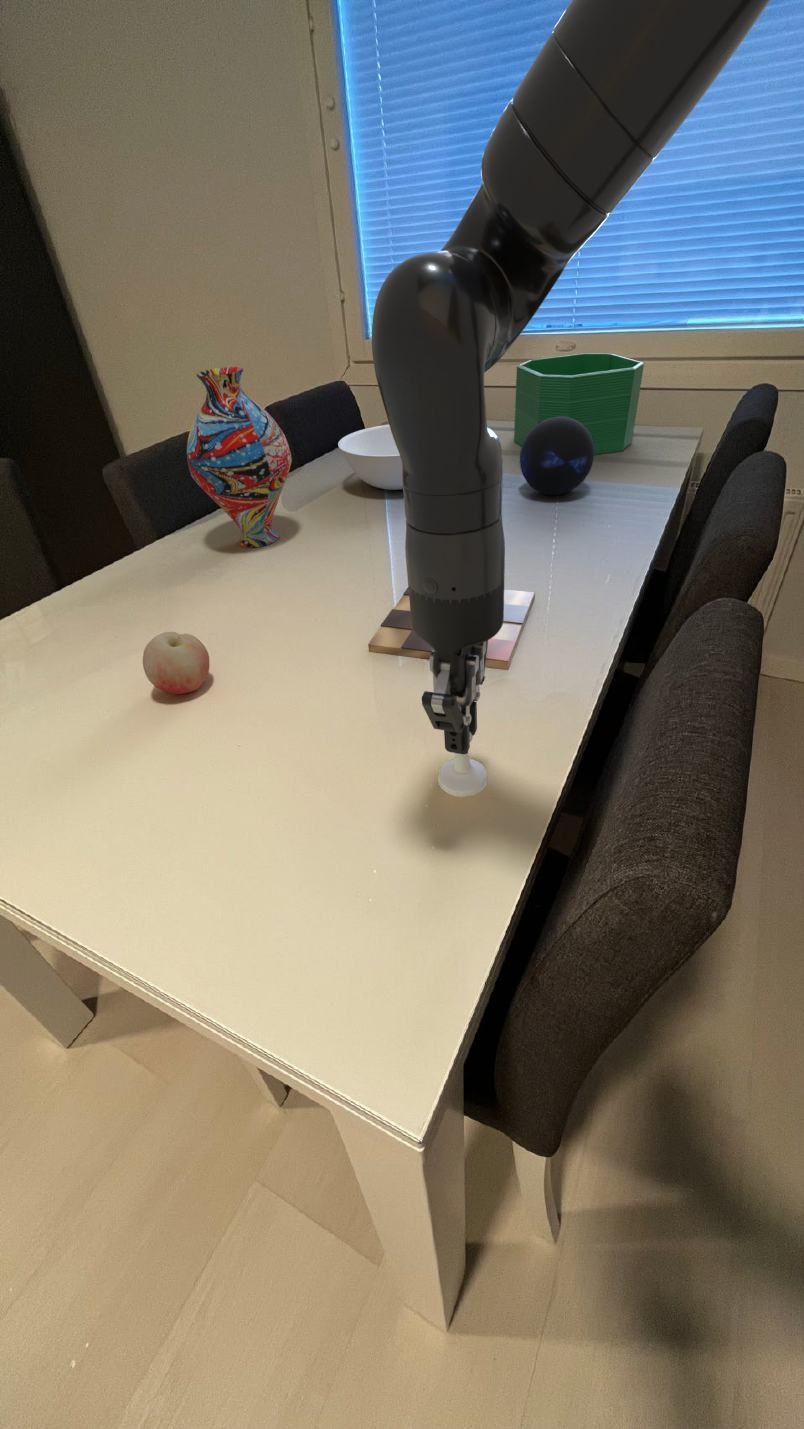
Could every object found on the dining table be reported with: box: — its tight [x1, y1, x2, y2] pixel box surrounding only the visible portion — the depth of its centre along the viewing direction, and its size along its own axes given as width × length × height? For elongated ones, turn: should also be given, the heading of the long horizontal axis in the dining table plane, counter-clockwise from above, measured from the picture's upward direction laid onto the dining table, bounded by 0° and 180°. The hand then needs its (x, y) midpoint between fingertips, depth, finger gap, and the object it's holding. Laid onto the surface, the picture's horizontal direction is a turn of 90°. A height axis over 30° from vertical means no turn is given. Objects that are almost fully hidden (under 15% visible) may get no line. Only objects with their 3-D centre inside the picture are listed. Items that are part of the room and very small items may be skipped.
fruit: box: [142, 631, 211, 695], centre depth 80 cm, size 8×8×8 cm
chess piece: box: [437, 704, 488, 798], centre depth 57 cm, size 5×5×10 cm
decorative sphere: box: [519, 417, 595, 496], centre depth 125 cm, size 15×15×15 cm
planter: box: [513, 352, 645, 456], centre depth 152 cm, size 26×26×18 cm
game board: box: [367, 587, 536, 670], centre depth 89 cm, size 20×20×1 cm
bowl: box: [337, 424, 403, 491], centre depth 140 cm, size 27×27×10 cm
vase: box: [186, 366, 292, 548], centre depth 113 cm, size 19×19×30 cm
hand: (461, 740), depth 57 cm, fingers closed on chess piece
